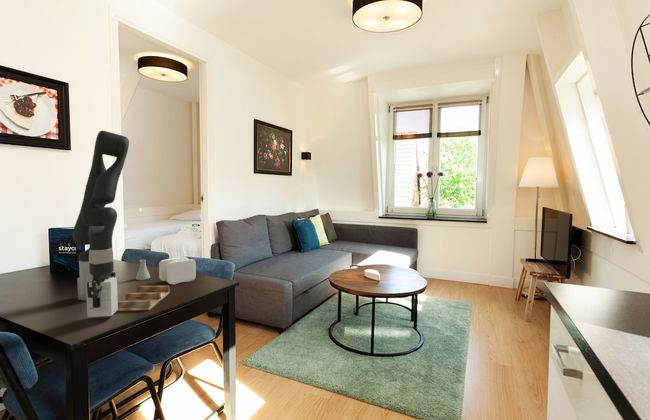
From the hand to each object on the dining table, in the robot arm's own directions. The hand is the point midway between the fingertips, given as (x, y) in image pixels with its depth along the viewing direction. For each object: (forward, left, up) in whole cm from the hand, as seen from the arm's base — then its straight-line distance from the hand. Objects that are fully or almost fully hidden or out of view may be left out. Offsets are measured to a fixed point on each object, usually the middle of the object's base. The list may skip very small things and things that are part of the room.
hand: (102, 303), depth 124 cm
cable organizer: (+11, +48, -6) cm, 50 cm away
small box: (0, 0, -4) cm, 4 cm away
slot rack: (+7, +18, -6) cm, 20 cm away
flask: (-9, +54, -6) cm, 55 cm away
